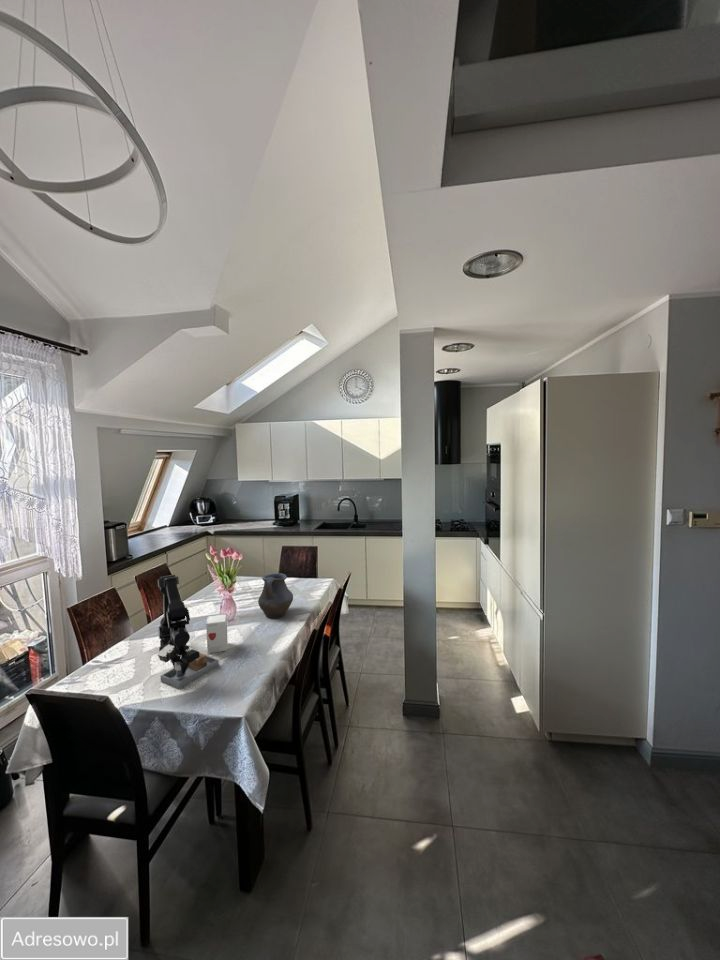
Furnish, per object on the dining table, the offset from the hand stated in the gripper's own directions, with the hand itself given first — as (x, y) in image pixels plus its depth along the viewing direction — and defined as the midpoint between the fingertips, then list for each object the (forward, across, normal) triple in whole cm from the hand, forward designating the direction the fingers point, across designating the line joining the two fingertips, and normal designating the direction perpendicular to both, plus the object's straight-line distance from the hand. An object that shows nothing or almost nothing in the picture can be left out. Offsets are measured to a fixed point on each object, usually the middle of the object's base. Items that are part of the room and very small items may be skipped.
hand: (180, 671), depth 164 cm
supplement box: (+4, -7, +26) cm, 27 cm away
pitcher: (+4, -7, +69) cm, 69 cm away
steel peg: (+1, 0, 0) cm, 1 cm away
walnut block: (+3, 0, +9) cm, 9 cm away
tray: (+3, 0, +5) cm, 6 cm away
